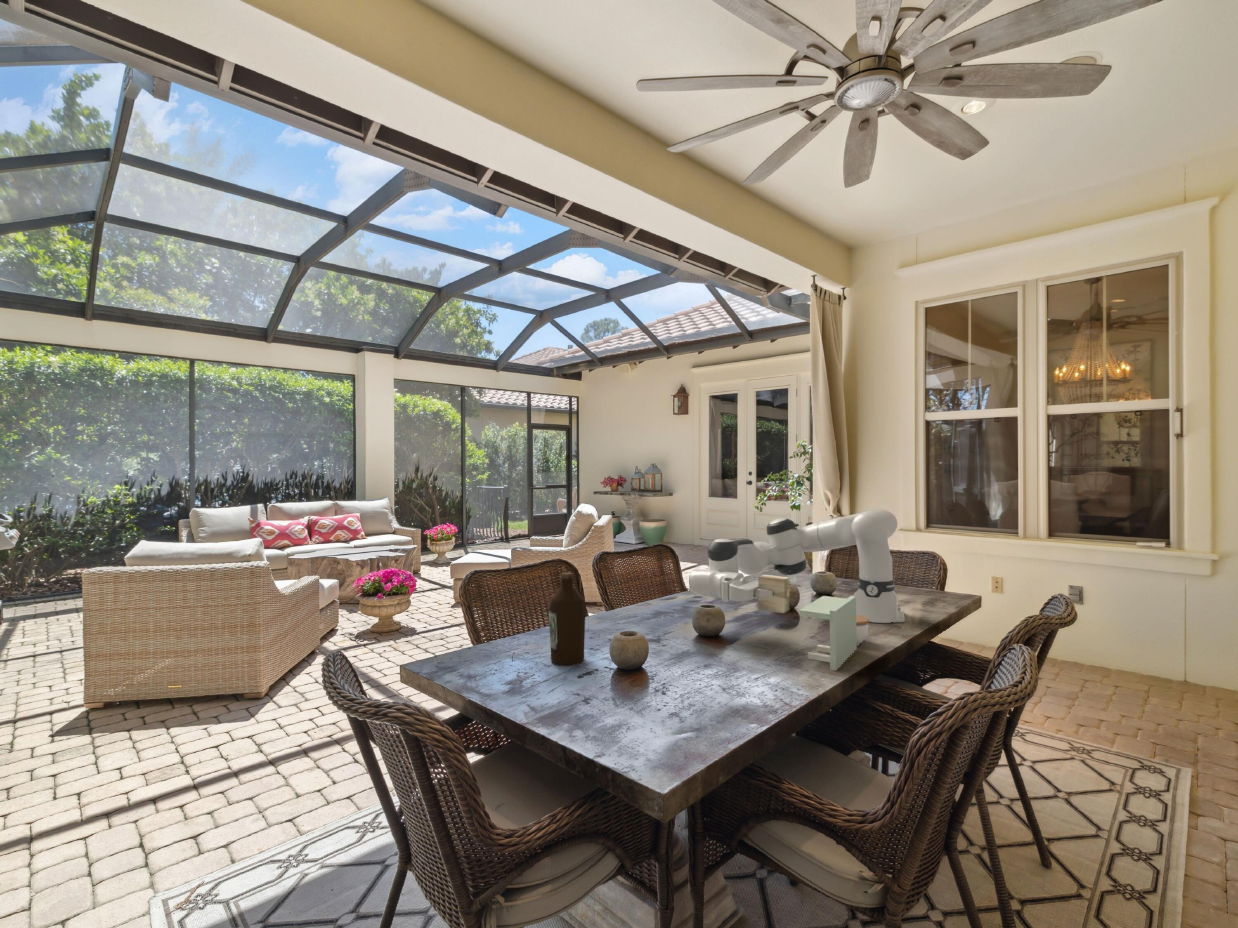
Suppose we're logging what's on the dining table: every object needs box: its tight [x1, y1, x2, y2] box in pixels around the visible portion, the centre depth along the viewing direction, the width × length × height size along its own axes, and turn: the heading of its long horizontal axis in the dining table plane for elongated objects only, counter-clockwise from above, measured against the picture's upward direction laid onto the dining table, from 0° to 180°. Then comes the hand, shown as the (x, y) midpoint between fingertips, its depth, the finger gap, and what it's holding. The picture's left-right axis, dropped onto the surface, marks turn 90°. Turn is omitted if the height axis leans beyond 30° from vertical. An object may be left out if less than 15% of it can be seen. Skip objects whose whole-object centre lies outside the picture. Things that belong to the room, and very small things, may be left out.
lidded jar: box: [856, 615, 870, 646], centre depth 185 cm, size 11×11×9 cm
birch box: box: [757, 574, 790, 614], centre depth 182 cm, size 4×8×10 cm, turn 53°
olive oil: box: [548, 571, 587, 667], centre depth 170 cm, size 11×11×25 cm
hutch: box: [798, 595, 858, 671], centre depth 172 cm, size 22×10×16 cm, turn 145°
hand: (776, 591), depth 181 cm, fingers closed on birch box, 4 cm apart
